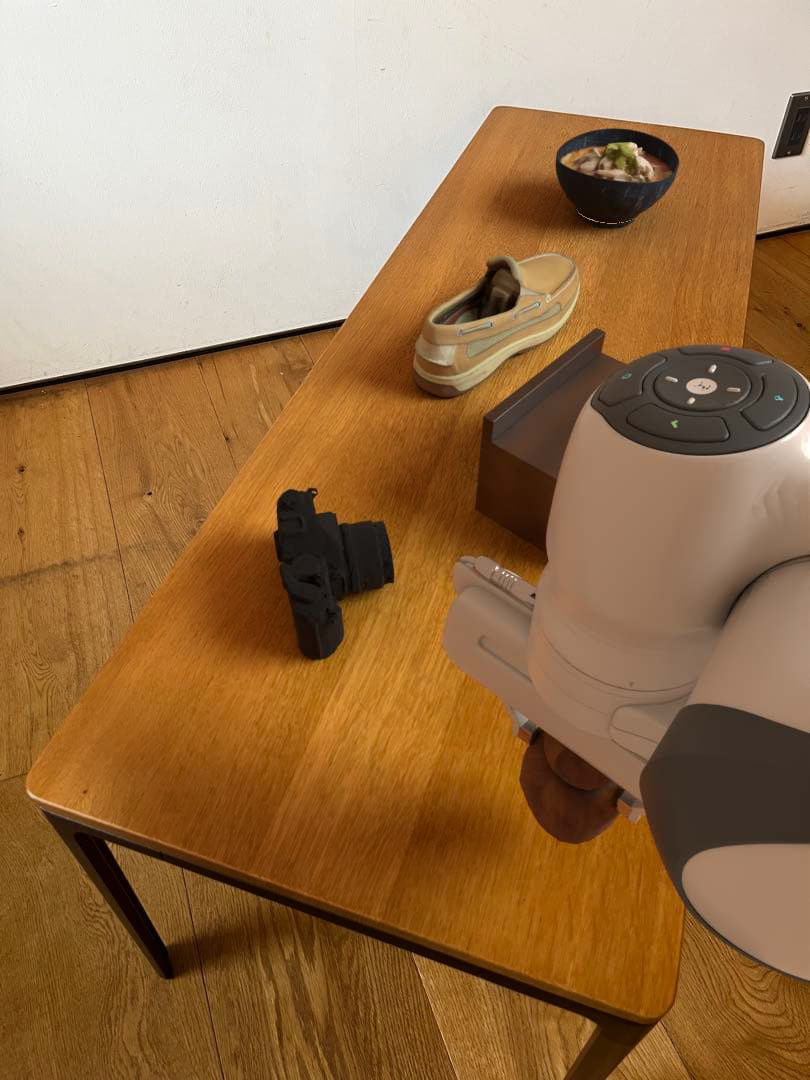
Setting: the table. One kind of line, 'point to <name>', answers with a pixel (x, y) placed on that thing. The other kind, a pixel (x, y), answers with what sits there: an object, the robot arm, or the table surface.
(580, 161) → the bowl
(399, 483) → the table surface
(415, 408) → the table surface
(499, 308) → the boat shoe
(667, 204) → the table surface
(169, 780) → the table surface
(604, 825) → the wooden figurine
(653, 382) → the robot arm
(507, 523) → the display shelf
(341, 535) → the film camera
